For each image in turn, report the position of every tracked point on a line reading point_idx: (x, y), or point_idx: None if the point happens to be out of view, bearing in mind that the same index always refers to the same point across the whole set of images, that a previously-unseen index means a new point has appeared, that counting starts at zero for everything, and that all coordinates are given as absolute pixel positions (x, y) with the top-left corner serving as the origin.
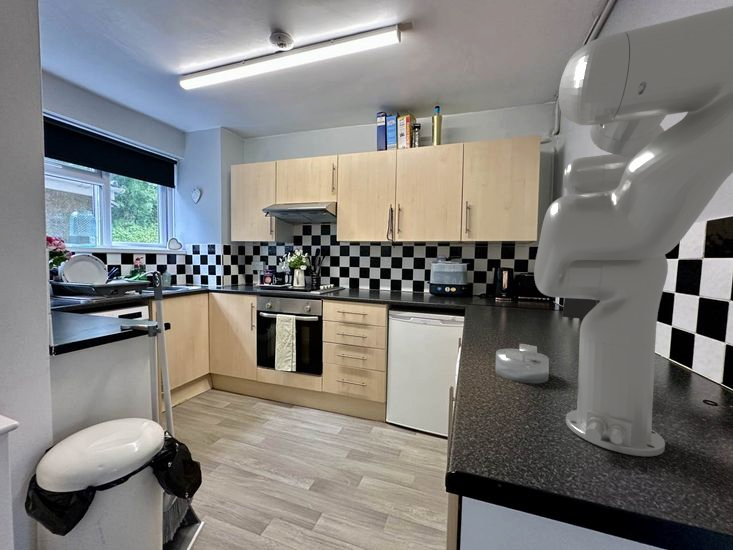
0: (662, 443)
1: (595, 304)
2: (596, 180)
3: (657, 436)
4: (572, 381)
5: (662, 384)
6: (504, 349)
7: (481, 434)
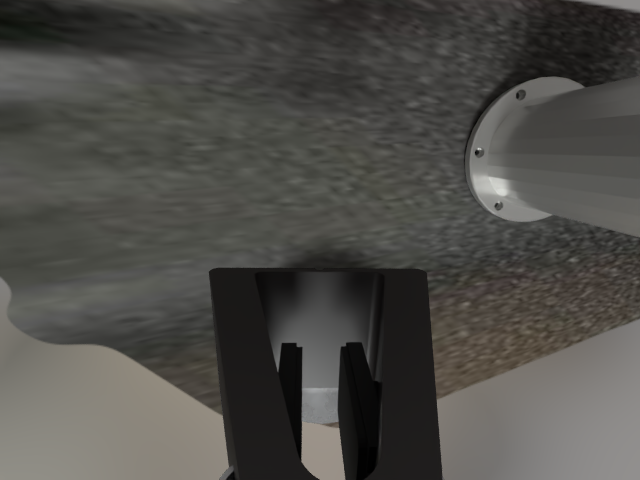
0: (561, 80)
1: (428, 311)
2: None
3: (536, 86)
4: (281, 250)
5: (105, 67)
6: (302, 416)
7: (631, 296)
